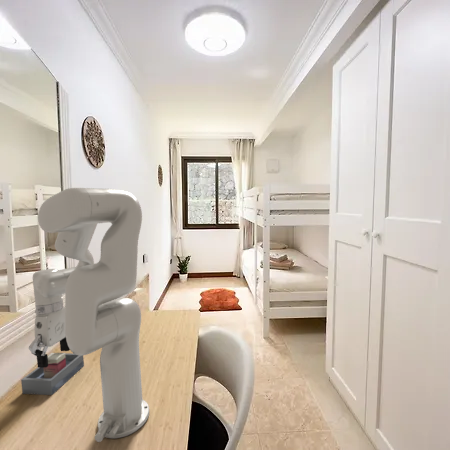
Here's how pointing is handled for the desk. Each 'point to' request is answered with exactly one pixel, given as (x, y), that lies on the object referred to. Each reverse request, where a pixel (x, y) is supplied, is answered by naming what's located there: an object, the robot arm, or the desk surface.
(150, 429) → the desk surface
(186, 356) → the desk surface
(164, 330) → the desk surface
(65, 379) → the walled box
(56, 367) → the small box
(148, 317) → the desk surface
